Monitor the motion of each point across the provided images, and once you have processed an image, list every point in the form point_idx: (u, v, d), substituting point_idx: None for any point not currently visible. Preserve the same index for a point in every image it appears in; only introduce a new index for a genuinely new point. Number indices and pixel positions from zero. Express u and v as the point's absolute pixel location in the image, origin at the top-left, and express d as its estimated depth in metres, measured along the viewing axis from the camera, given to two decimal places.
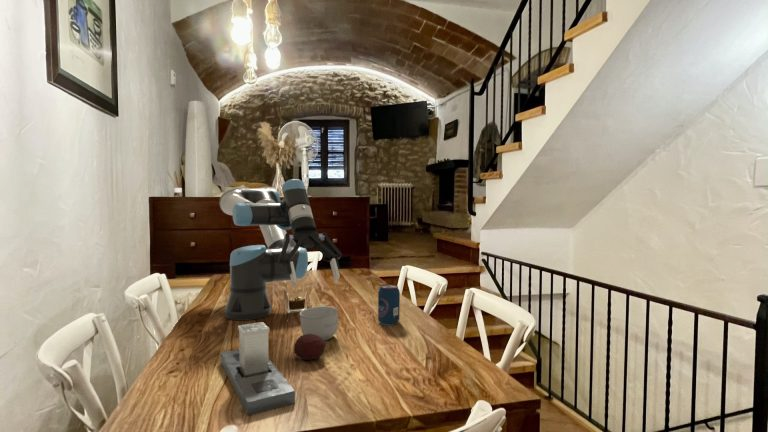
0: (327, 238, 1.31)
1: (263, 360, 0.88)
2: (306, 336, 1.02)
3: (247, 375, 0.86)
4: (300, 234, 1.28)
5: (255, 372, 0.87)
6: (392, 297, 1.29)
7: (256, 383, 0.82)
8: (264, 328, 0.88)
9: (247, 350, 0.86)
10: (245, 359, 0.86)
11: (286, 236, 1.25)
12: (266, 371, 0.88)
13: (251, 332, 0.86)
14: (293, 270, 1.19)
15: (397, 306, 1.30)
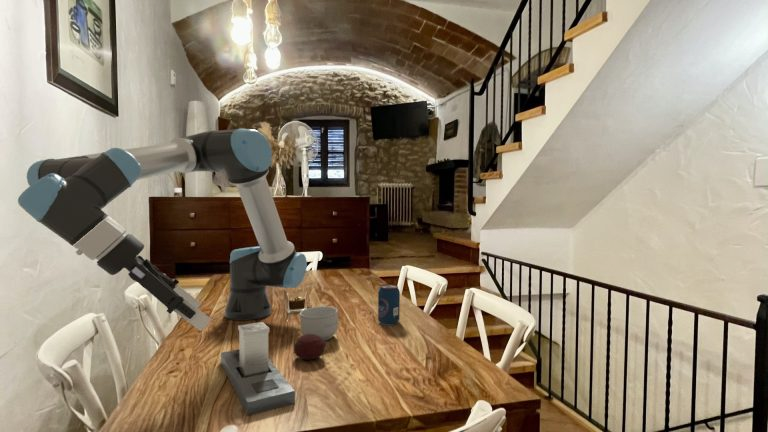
0: (140, 283, 0.72)
1: (263, 360, 0.88)
2: (306, 336, 1.02)
3: (247, 375, 0.86)
4: None
5: (255, 372, 0.87)
6: (392, 297, 1.29)
7: (256, 383, 0.82)
8: (264, 328, 0.88)
9: (247, 350, 0.86)
10: (245, 359, 0.86)
11: None
12: (266, 371, 0.88)
13: (251, 332, 0.86)
14: None
15: (397, 306, 1.30)
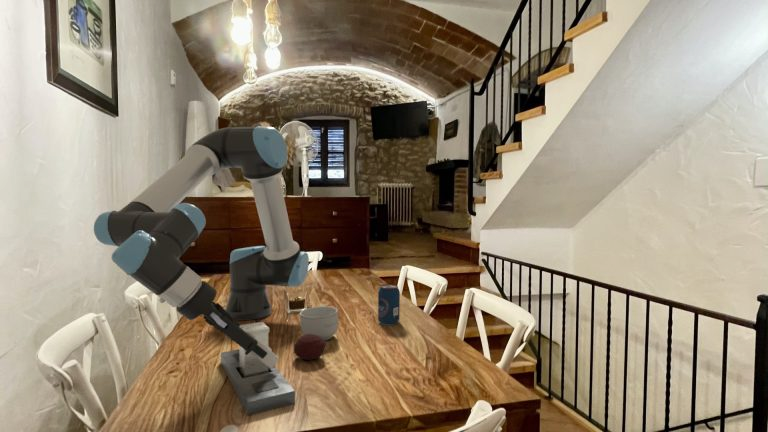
0: (222, 331, 0.80)
1: None
2: (306, 336, 1.02)
3: (247, 375, 0.86)
4: None
5: (255, 372, 0.87)
6: (392, 297, 1.29)
7: (256, 383, 0.82)
8: (264, 328, 0.88)
9: None
10: (245, 359, 0.86)
11: None
12: (266, 371, 0.88)
13: (251, 332, 0.86)
14: None
15: (397, 306, 1.30)
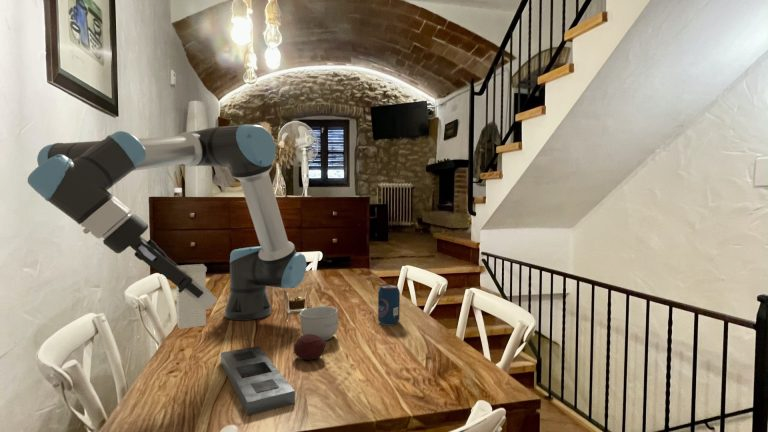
0: (150, 265, 0.76)
1: None
2: (306, 336, 1.02)
3: (182, 315, 0.82)
4: None
5: (191, 313, 0.83)
6: (392, 297, 1.29)
7: (256, 383, 0.82)
8: (201, 267, 0.84)
9: None
10: (179, 298, 0.82)
11: None
12: (203, 313, 0.84)
13: (186, 270, 0.82)
14: None
15: (397, 306, 1.30)
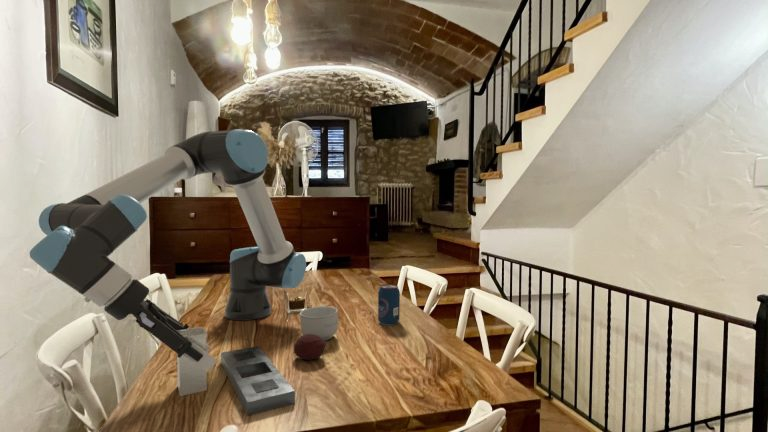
0: (150, 331, 0.76)
1: None
2: (306, 336, 1.02)
3: (182, 382, 0.83)
4: None
5: (192, 379, 0.83)
6: (392, 297, 1.29)
7: (256, 383, 0.82)
8: (202, 333, 0.84)
9: (182, 357, 0.82)
10: (180, 366, 0.82)
11: None
12: (204, 378, 0.85)
13: (187, 338, 0.82)
14: None
15: (397, 306, 1.30)
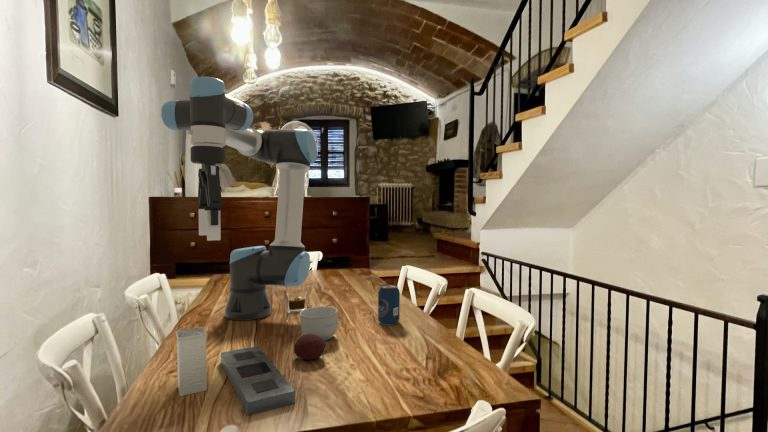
0: (207, 177, 0.89)
1: (200, 366, 0.84)
2: (306, 336, 1.02)
3: (182, 382, 0.83)
4: (202, 170, 0.96)
5: (192, 379, 0.83)
6: (392, 297, 1.29)
7: (256, 383, 0.82)
8: (202, 333, 0.84)
9: (182, 357, 0.82)
10: (180, 366, 0.82)
11: None
12: (204, 378, 0.85)
13: (187, 337, 0.82)
14: None
15: (397, 306, 1.30)
